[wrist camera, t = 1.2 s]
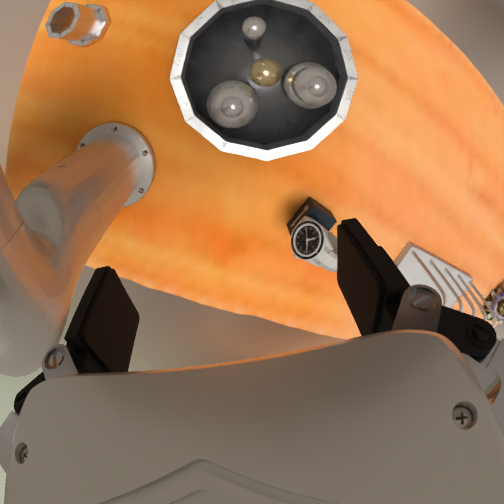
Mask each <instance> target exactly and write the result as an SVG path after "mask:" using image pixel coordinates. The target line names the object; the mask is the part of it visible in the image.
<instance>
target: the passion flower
mask: <svg viewBox="0 0 504 504" xmlns="http://www.w3.org/2000/svg"><path fill="white" fill-rule="evenodd" d="M491 295H492V297H493V300H492V301H488V302H487V303H488V304H489V306H490V307H491V308H492V310H493V311H494V313H495V315H496V321H500V326H502V325H503V324H504V291H503V289H502V288H501V287H498V290H497V291H494V290H492V291H491ZM485 312H486V315H487V320H492V323H493V321H494V317H493V315H492V313H491V312H487V311H485ZM482 314H483V312H482Z"/></svg>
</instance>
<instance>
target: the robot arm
mask: <svg viewBox="0 0 504 504" xmlns="http://www.w3.org/2000/svg"><path fill="white" fill-rule="evenodd" d="M115 127H117V130H116V129H115ZM84 144H85V145H84ZM145 150H147V151H148V153H146V152H145ZM154 174H155V159H154V154H153V151H152V148H151V146H150V144H149V143H148V141H147V139H146V138H145V137H144V136H143V135H142V134H141V133H140V132H139V131H138V130H136V129H135V128H133V127H131V126H129V125H127V124H123V123H116V122H111V123H105V124H102V125H99V126H97V127H95V128H93V129H92V130H90V131H89V132H88V133H87V134H85V135H84V137H83V138H82V139H81V141H80V142H79V144H78V146H77V148H76V151H75V152H73V153H72V154H70V155H69V156H67V157H65V158H64V159H62V160H61V161H59V162H58V163H56V164H55V165H53V166H52V167H50V168H49V169H48V170H46V171H45V172H43V173H42V174H40V175H39V176H38V177H36V178H35V179H34V180H32V181H31V182H30V183H29V184H28V185H27V186H26V187H25V188H24V189H23V190H22V192H21V193H20V194H19V196H18V197H17V199H16V201H15V200H14V197H13V195H12V193H11V190H10V188H9V186H8V183H7V181H6V178H5V176H4V173H3V171H2V168H1V165H0V374H3V375H8V376H12V377H19V376H25V375H28V374H31V373H33V372H35V371H36V370H38V369H39V368H40V367H42V369H43V372H42V373H41V374H40V375H38V376H37V377H36V378H35V379H34V380H32V381H31V382H30V383H29V384H28V385H27V386H25V388H23V389H22V390H21V391H20V392H19V393H18V394H17V395H16V398H15V401H14V410H15V412H13V411H11V412H10V414H9V415H8V417H7V418H6V420H5V421H4V423H3V424H2V426H1V427H0V464H1V466H2V468H3V469H4V471H5V472H6V474H7V475H6V483H5V498H4V504H504V339H503V338H502V339H501V341H500V340H498V339H497V338H496V332H495V330H494V328H493V327H492V325H491V324H490V323H488V322H487V321H485V320H483V319H480V318H477V317H475V316H472V315H469V314H466V313H463V312H460V311H457V310H454V309H451V308H448V307H445V306H443V305H442V299H441V296H440V294H439V293H438V292H437V291H436V290H435V289H433V288H432V287H430V286H427V285H422V284H417V285H412V286H410V284H409V283H408V281H407V280H406V279H405V277H404V276H403V274H402V273H401V272H400V270H399V269H398V267H397V266H396V265H395V263H394V262H393V261H392V259H391V258H390V257H389V255H388V254H387V253H386V251H385V250H384V249H383V248H382V247H381V246H377V244H376V243H375V242H374V240H373V239H372V238H371V237H370V235H369V234H368V233H367V231H366V230H365V229H364V228H363V226H362V225H361V224H360V223H359V221H358V220H357V219H356V218H353V219H347V220H342V222H341V224H340V225H338V226H337V281H338V285H339V287H340V289H341V291H342V293H343V295H344V298H345V300H346V302H347V304H348V306H349V308H350V311H351V313H352V315H353V317H354V320H355V322H356V324H357V326H358V329H359V331H360V333H361V335H362V336H360V337H355V338H351V339H347V340H343V341H338V342H334V343H329V344H325V345H320V346H316V347H311V348H306V349H301V350H296V351H291V352H286V353H281V354H275V355H270V356H264V357H258V358H252V359H245V360H239V361H233V362H226V363H218V364H210V365H202V366H193V367H183V368H174V369H161V370H150V371H135V372H134V371H133V372H128V368H129V363H130V359H131V354H132V349H133V345H134V340H135V336H136V332H137V328H138V324H139V314H138V312H137V310H136V308H135V306H134V305H133V303H132V301H131V299H130V298H129V296H128V294H127V292H126V290H125V288H124V287H123V285H122V283H121V281H120V279H119V277H118V275H117V273H116V271H115V270H114V269H111V268H110V267H109V266H106V267H101V268H97V269H96V270H95V272H94V274H93V276H92V278H91V280H90V282H89V284H88V286H87V288H86V290H85V292H84V294H83V296H82V299H81V301H80V303H79V305H78V307H77V310H76V312H75V314H74V316H73V319H72V321H71V323H70V325H69V328H68V330H67V333H66V335H65V338H64V339H65V340H66V341H67V345H66V346H65V345H63V344H59V342H60V340H61V336H62V334H63V331H64V328H65V326H66V322H67V318H68V315H69V310H70V306H71V302H72V298H73V294H74V290H75V287H76V283H77V281H78V278H79V276H80V273H81V271H82V269H83V267H84V265H85V264H86V262H87V260H88V258H89V257H90V255H91V253H92V252H93V250H94V248H95V247H96V245H97V244H98V242H99V241H100V239H101V238H102V236H103V235H104V233H105V232H106V230H107V229H108V227H109V226H110V224H111V223H112V221H113V220H114V218H115V217H116V215H117V214H118V213H119V211H120V210H121V208H123V207H127V206H130V205H132V204H134V203H136V202H137V201H139V200H140V199H141V198H142V197H143V196H144V195H145V193H146V192H147V191H148V189H149V188H150V186H151V184H152V181H153V178H154ZM141 188H143V189H141Z"/></svg>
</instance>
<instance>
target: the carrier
mask: <svg viewBox="0 0 504 504" xmlns="http://www.w3.org/2000/svg"><path fill="white" fill-rule="evenodd" d="M339 78H340V77H339V72H338V68H337V64H336V61H335V57H334V53H333V49H332V46H331V42H330V41H329V40H328V39H327V38H326V37H325V36H324V35H323V34H322V33H321V32H320V31H319V30H318V29H317V28H316V27H315V26H314V25H313V24H312V23H311V22H310V21H309V20H308V19H307V18H306V17H304V16H303V15H302V14H299V13H295V12H292V11H288V10H285V9H281V8H277V7H274V6H270V5H265V4H260V5H255V6H250V7H246V8H242V9H237V10H233V11H230V12H226V13H222V14H221V15H220V16H219V17H218V18H217V19H216V20H215V21H214V22H212V23H211V24H210V25H209V26H208V27H207V28H206V29H205V30H204V31H203V32H202V33H201V34H200V35H199V36H198V37H197V38H196V39H195V40H194V41H193V45H192V49H191V53H190V57H189V61H188V65H187V69H186V74H185V79H186V82H187V85H188V88H189V91H190V94H191V96H192V99H193V102H194V105H195V108H196V110H197V113H199V114H200V115H201V116H202V117H203V118H205V119H206V120H207V121H208V122H210V123H211V124H212V125H213V126H214V127H216V128H217V129H218V130H219V131H220V132H222V133H223V134H224V135H225V136H226V137H230V138H235V139H239V140H244V141H249V142H253V143H258V144H262V145H267V144H271V143H275V142H278V141H282V140H286V139H290V138H294V137H298V136H302V135H303V134H304V133H305V132H306V131H307V130H309V129H310V128H311V127H312V126H313V125H314V124H315V123H316V122H317V121H319V120H320V119H321V118H322V117H323V116H324V115H325V114H326V113H327V112H329V110H330V106H331V103H332V100H333V98H334V96H335V94H336V91H337V84H338V81H339Z"/></svg>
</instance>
